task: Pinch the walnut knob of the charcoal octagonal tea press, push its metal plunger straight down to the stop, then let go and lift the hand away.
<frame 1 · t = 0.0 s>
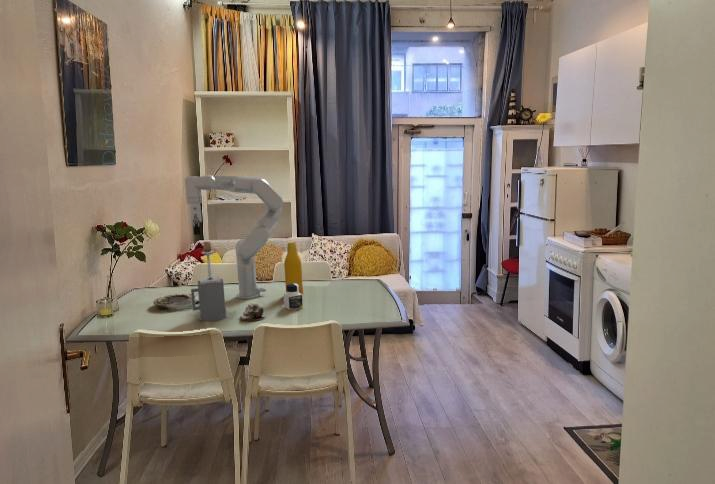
hand: (197, 233, 287), 37 cm above the table, tool pointing down, fingers open, 9 cm apart
plunger: (209, 266, 259), point 25 cm above the table, slide at 0.0 cm
medicine bottle: (293, 307, 275), on the table
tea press: (213, 317, 263), on the table
skull: (253, 318, 261), on the table
beer bottle: (294, 295, 299), on the table
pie: (175, 306, 287), on the table
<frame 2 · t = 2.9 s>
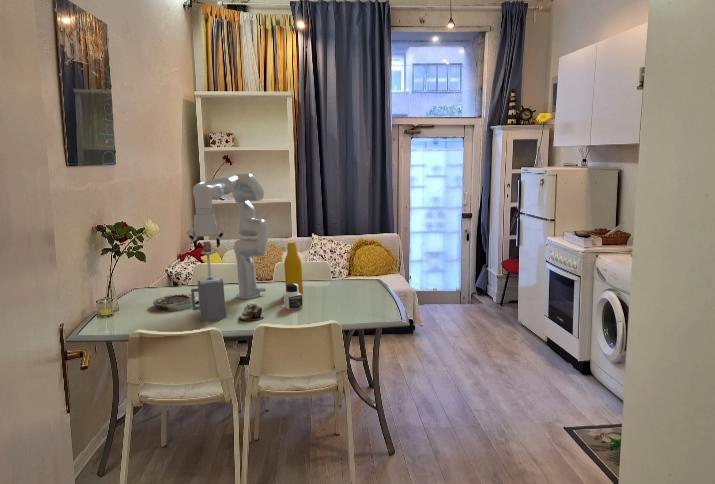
hand: (207, 248, 257), 34 cm above the table, tool pointing down, fingers open, 9 cm apart
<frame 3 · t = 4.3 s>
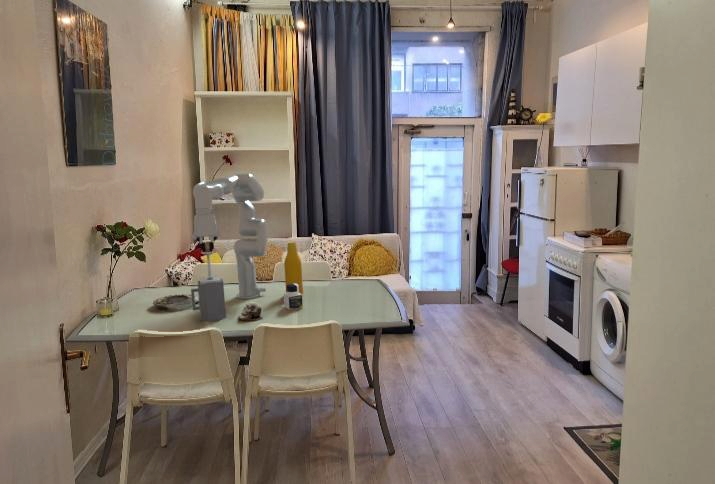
hand: (207, 250, 258), 33 cm above the table, tool pointing down, fingers closed on plunger, 3 cm apart
plunger: (209, 266, 259), point 25 cm above the table, slide at 0.0 cm, touching gripper
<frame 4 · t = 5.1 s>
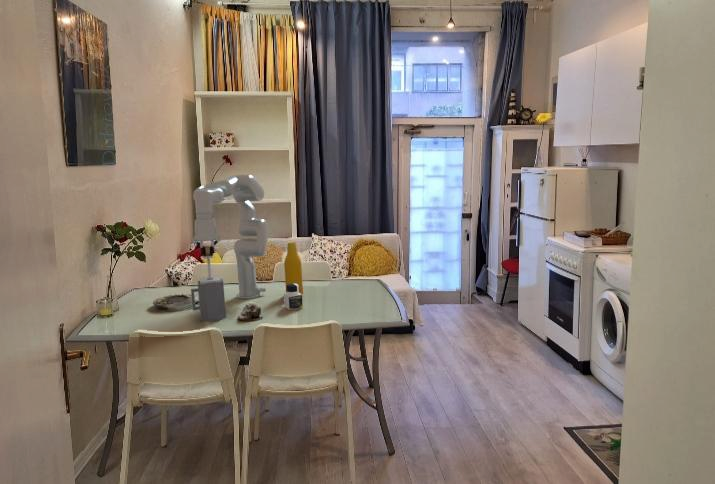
hand: (208, 254, 258), 31 cm above the table, tool pointing down, fingers closed on plunger, 3 cm apart
plunger: (209, 270, 259), point 23 cm above the table, slide at 2.0 cm, touching gripper
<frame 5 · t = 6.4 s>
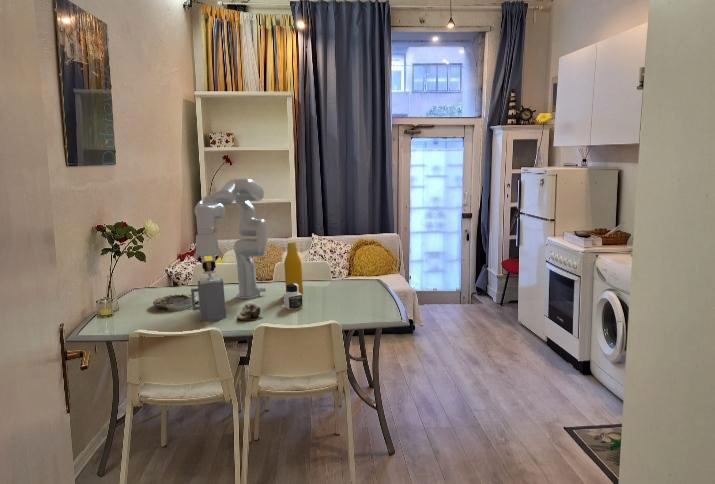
hand: (209, 269, 259), 23 cm above the table, tool pointing down, fingers closed on plunger, 3 cm apart
plunger: (210, 285, 260), point 16 cm above the table, slide at 9.2 cm, touching gripper
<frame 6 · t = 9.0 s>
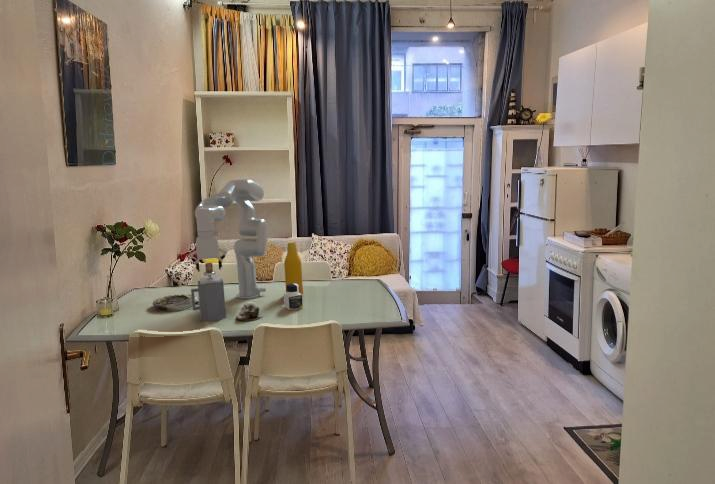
hand: (209, 270, 259), 23 cm above the table, tool pointing down, fingers open, 9 cm apart
plunger: (210, 287, 260), point 15 cm above the table, slide at 10.1 cm
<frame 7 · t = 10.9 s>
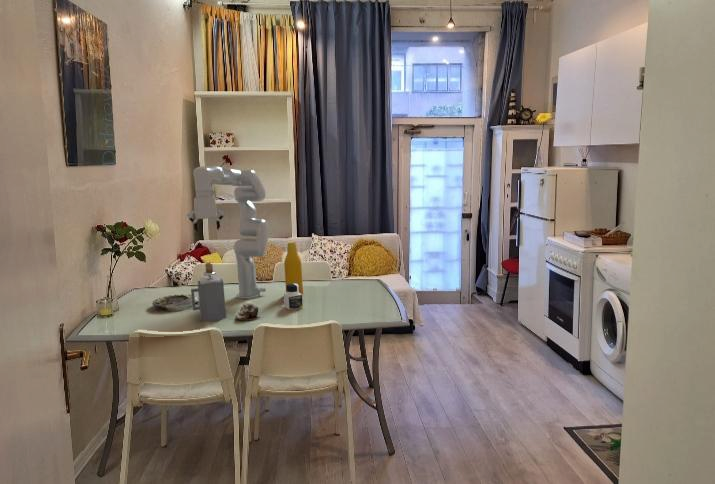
hand: (207, 230, 260), 42 cm above the table, tool pointing down, fingers open, 9 cm apart
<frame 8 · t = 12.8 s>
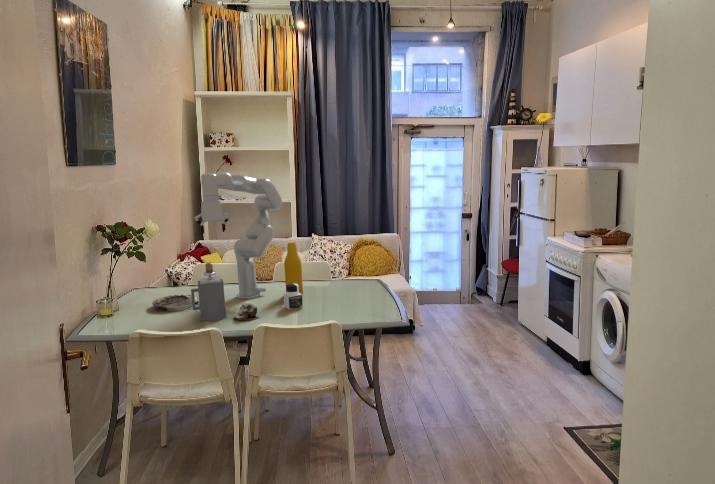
hand: (213, 232, 276), 38 cm above the table, tool pointing down, fingers open, 9 cm apart
at the end: plunger slide at 10.1 cm; the gripper is holding nothing; plunger tilted 0° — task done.
